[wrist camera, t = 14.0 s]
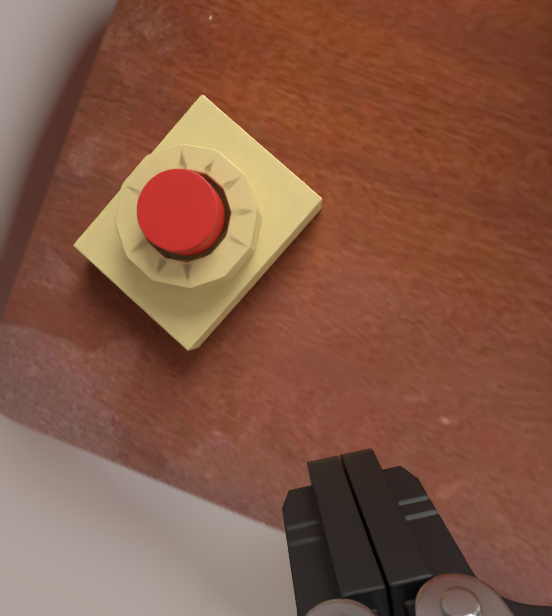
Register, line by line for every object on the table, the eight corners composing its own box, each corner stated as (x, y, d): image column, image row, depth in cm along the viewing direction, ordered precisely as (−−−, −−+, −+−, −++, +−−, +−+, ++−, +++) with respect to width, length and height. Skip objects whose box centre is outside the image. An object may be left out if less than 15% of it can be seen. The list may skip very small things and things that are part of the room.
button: (190, 271, 23) (179, 268, 21) (134, 221, 23) (119, 214, 21) (241, 213, 22) (235, 205, 21) (184, 162, 23) (173, 150, 21)
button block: (198, 347, 26) (177, 355, 22) (91, 250, 27) (52, 240, 23) (322, 208, 26) (323, 189, 22) (211, 111, 26) (192, 76, 22)
